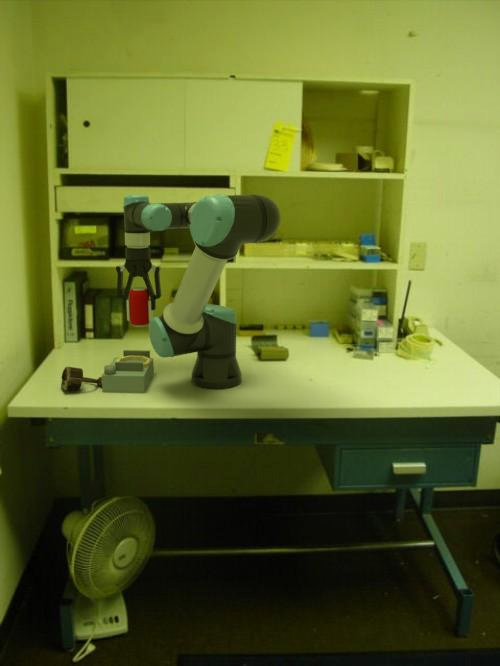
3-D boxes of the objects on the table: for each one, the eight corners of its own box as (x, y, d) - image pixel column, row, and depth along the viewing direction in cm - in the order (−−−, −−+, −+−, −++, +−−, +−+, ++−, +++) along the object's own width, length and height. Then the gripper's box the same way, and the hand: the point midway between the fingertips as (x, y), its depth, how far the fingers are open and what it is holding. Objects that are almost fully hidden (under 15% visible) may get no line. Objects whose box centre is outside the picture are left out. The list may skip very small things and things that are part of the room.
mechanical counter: (61, 365, 182) (53, 368, 172) (105, 360, 183) (100, 363, 173) (64, 389, 182) (56, 394, 172) (107, 384, 183) (103, 389, 173)
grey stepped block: (153, 373, 192) (153, 350, 190) (144, 392, 176) (143, 367, 174) (115, 372, 192) (114, 349, 190) (102, 391, 176) (101, 367, 174)
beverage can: (145, 322, 198) (144, 285, 195) (153, 326, 193) (152, 289, 190) (127, 324, 195) (126, 287, 192) (134, 328, 190) (133, 290, 187)
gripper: (170, 245, 191) (171, 317, 197) (109, 244, 192) (112, 316, 198) (167, 248, 184) (168, 323, 190) (103, 247, 184) (106, 322, 190)
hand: (140, 319), depth 194 cm, fingers closed on beverage can, 6 cm apart
